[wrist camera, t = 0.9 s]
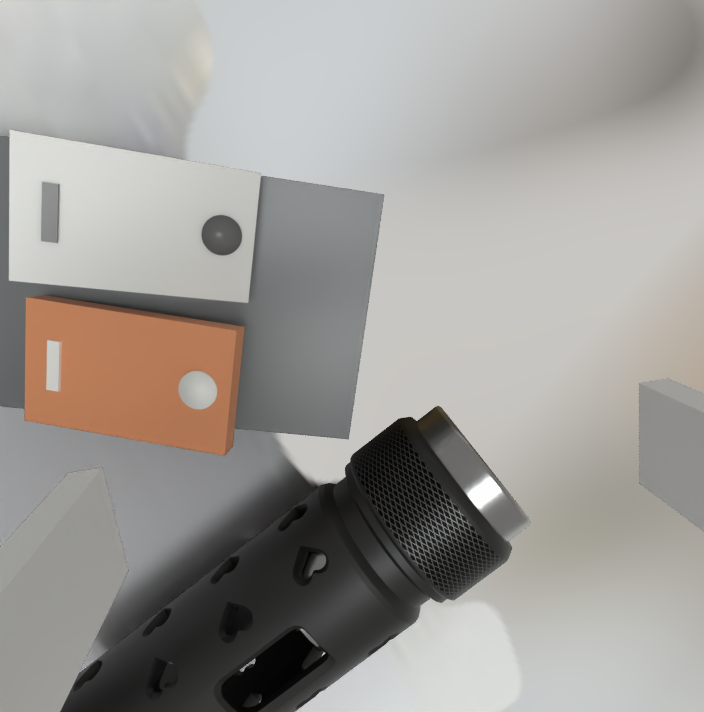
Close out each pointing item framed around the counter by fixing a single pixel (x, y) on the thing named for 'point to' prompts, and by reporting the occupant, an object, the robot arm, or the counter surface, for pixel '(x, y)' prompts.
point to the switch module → (256, 306)
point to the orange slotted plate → (132, 373)
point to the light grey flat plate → (129, 220)
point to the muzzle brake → (319, 583)
